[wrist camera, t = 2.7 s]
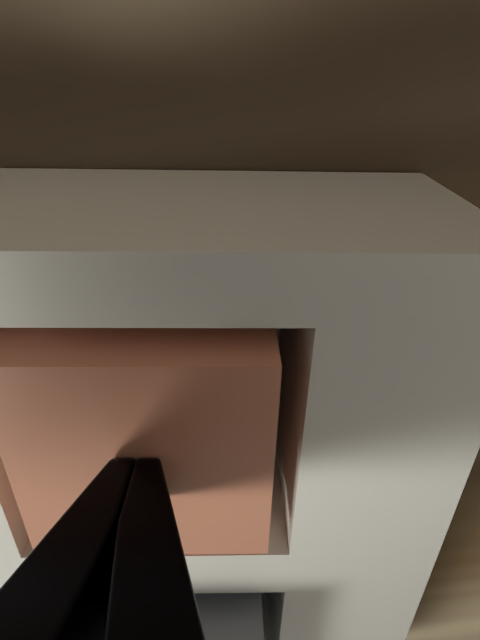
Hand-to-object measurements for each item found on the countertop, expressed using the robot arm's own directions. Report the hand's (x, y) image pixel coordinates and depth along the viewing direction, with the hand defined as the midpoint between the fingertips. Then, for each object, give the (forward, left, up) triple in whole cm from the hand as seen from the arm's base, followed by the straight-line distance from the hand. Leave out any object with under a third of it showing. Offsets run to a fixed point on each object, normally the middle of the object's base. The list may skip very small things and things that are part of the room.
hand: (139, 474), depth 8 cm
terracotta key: (0, 0, -4) cm, 4 cm away
